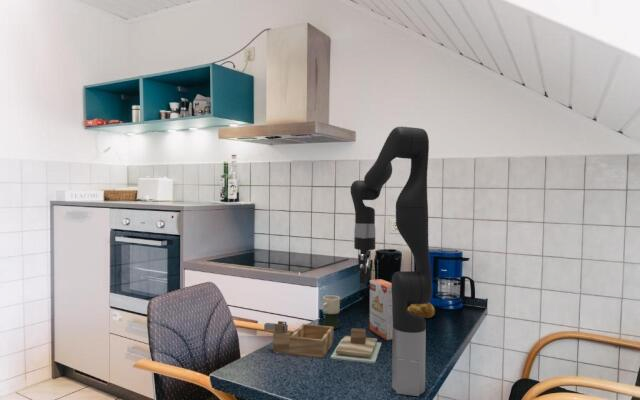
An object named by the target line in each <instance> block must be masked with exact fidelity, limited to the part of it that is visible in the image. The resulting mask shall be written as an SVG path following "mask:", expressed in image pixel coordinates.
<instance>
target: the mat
mask: <svg viewBox="0 0 640 400" xmlns="http://www.w3.org/2000/svg"><path fill="white" fill-rule="evenodd" d="M342 340H343V338H341V340H340V341H339V343H338V345H337V346H336V347H335V349H334V351H332V354H331V356H330V359H331V360H332V359H333V360H341V361H349V362H358V363H359V362H360V363H367V364H368V363H369V364H376V362H377V359H378V356H379V352H380V349H381V347H382V342H378V341H377V343H376V345H375V348H374V351H373V353H372V356H371V357H368V358H366V357H357V356H348V355H340V354H338V353H336V349H337V348H338V346H339V345H340V343H341V341H342Z"/></svg>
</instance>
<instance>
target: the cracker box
mask: <svg viewBox="0 0 640 400" xmlns="http://www.w3.org/2000/svg"><path fill="white" fill-rule="evenodd" d="M369 330H370V331H371V332H372V333H374V334H376V335H378V336H379V337H380V338H382V339H383V340H385V341H391V340H392V341H393V316H392V282H391V281H387V280H384V279H382V278H381V279H380V278H379V279H370V280H369Z"/></svg>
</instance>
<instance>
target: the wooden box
mask: <svg viewBox="0 0 640 400" xmlns="http://www.w3.org/2000/svg"><path fill="white" fill-rule="evenodd" d="M282 322H284V321H281V320H277V323H274V324H275V331H272V332H273V333H272V352H273V351H274V352H279V353H286V354H285V355H288V354H291V356H297V355H298V357H306V358H307V357H308V358H317V359H324V357H326V355H327V353H328V352H329V351H330V348H331V347H332V346H333V344H334V339H335V338H334V333H335V331H334V327H331V326H324V325H319V324H317V325H316V324H308V323H302V324H301V325H300V326H299V327H298V328H297V329H296V330H295V331H294V330H290V329H289V330H287V331H286V332H283V324H282ZM285 322H286V325H288V324H287V321H285ZM279 353H278V354H279Z"/></svg>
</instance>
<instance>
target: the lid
mask: <svg viewBox="0 0 640 400" xmlns="http://www.w3.org/2000/svg"><path fill="white" fill-rule="evenodd" d="M342 339H343V340H342ZM342 339H341V340H342V341H341V340H340V341H341V343H340V342H339V343H340V345H339V346H338V345H337V346H338V348H337V349H336V348H335V349H336V353H338V354H340V355H348V356H357V357H366V358H368V357H371V356H372V353H373V351H374V348H375V345H376V343H377V342H378V338H373V337H367V329H365V328H355V327H352V328H351V330H350V335H344V337H343V338H342Z"/></svg>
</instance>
